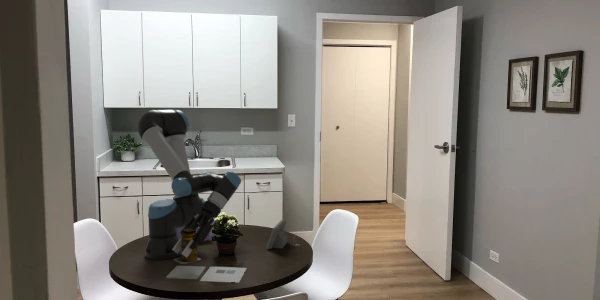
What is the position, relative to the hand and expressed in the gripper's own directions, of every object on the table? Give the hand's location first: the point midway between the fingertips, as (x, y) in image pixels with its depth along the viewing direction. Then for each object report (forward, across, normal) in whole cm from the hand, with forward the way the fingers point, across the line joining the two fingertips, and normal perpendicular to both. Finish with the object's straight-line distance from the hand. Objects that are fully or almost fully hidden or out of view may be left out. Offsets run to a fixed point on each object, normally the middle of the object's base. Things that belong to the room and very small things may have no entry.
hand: (179, 253), depth 181 cm
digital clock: (-31, +2, -44) cm, 54 cm away
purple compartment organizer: (-15, +39, -28) cm, 50 cm away
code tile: (-3, -10, -16) cm, 19 cm away
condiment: (0, 0, -5) cm, 5 cm away
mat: (+4, +1, -9) cm, 10 cm away
